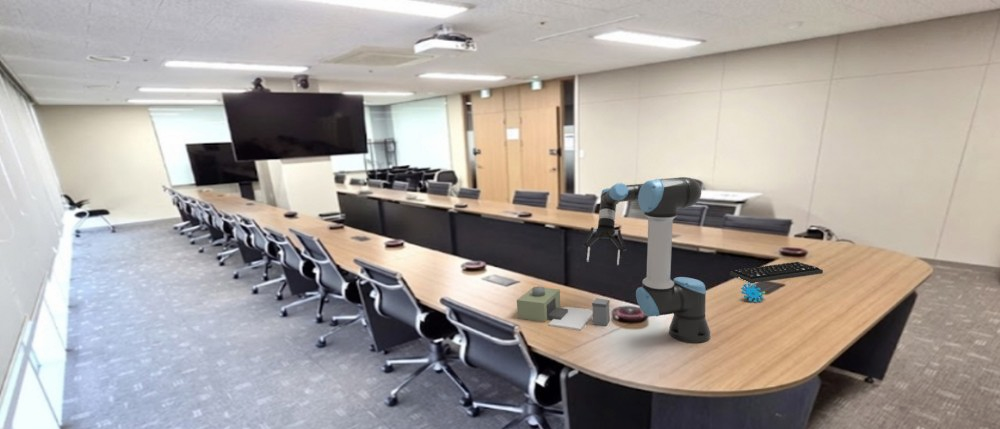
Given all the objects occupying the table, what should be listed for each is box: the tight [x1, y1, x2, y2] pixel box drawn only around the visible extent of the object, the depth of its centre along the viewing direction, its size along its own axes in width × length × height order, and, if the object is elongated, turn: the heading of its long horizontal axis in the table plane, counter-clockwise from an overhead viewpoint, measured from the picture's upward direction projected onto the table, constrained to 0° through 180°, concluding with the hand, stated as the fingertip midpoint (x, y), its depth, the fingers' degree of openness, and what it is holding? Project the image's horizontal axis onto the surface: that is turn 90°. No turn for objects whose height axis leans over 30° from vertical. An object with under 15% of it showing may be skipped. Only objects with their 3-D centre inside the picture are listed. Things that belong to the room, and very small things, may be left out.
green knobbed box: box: [516, 286, 593, 331], centre depth 196 cm, size 32×23×12 cm
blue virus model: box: [740, 282, 766, 303], centre depth 200 cm, size 11×6×10 cm
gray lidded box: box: [591, 297, 611, 327], centre depth 185 cm, size 6×6×10 cm
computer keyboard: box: [729, 261, 824, 284], centre depth 233 cm, size 45×16×4 cm, turn 101°
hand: (602, 262), depth 192 cm, fingers open, 13 cm apart
